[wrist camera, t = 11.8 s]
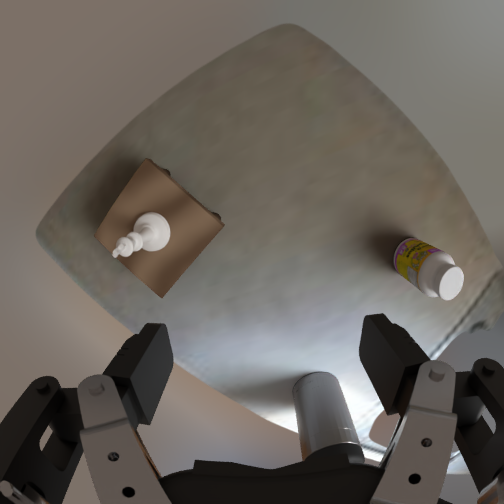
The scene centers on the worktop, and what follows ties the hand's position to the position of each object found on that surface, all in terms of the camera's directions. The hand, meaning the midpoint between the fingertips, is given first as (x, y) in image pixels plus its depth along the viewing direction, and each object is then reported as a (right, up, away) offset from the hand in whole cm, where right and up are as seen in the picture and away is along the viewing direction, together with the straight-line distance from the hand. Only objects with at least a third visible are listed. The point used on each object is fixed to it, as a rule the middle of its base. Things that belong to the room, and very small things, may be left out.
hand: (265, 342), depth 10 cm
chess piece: (-13, +6, +23) cm, 27 cm away
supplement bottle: (+25, +3, +30) cm, 40 cm away
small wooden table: (-13, +8, +29) cm, 33 cm away
